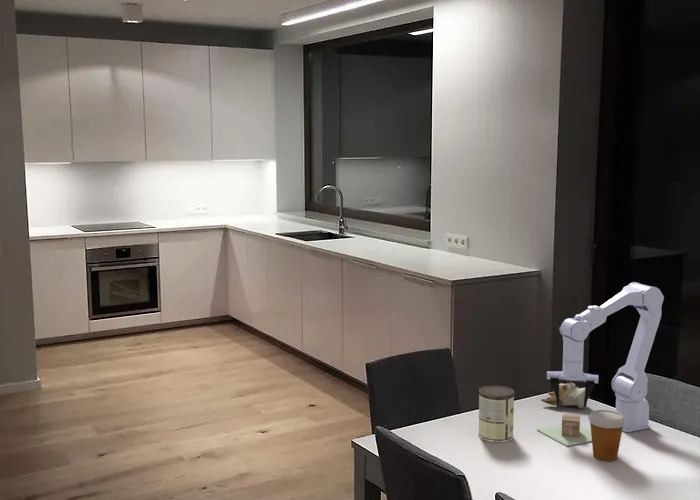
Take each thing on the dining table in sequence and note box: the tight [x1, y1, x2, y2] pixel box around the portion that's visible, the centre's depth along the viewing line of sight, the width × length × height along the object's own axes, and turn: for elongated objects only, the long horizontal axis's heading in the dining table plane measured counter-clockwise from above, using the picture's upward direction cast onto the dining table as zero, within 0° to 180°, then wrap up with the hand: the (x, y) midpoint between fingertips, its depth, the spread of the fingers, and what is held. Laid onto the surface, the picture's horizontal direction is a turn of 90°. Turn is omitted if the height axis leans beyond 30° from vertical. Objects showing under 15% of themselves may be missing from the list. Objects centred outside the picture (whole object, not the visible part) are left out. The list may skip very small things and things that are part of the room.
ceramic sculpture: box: [540, 380, 590, 409], centre depth 252 cm, size 11×9×15 cm
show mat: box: [536, 423, 592, 447], centre depth 227 cm, size 14×14×1 cm
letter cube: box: [561, 413, 581, 438], centre depth 226 cm, size 5×5×5 cm
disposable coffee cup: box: [588, 409, 625, 462], centre depth 210 cm, size 10×10×12 cm
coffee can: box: [478, 384, 515, 444], centre depth 225 cm, size 10×10×14 cm
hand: (571, 404), depth 225 cm, fingers open, 7 cm apart
